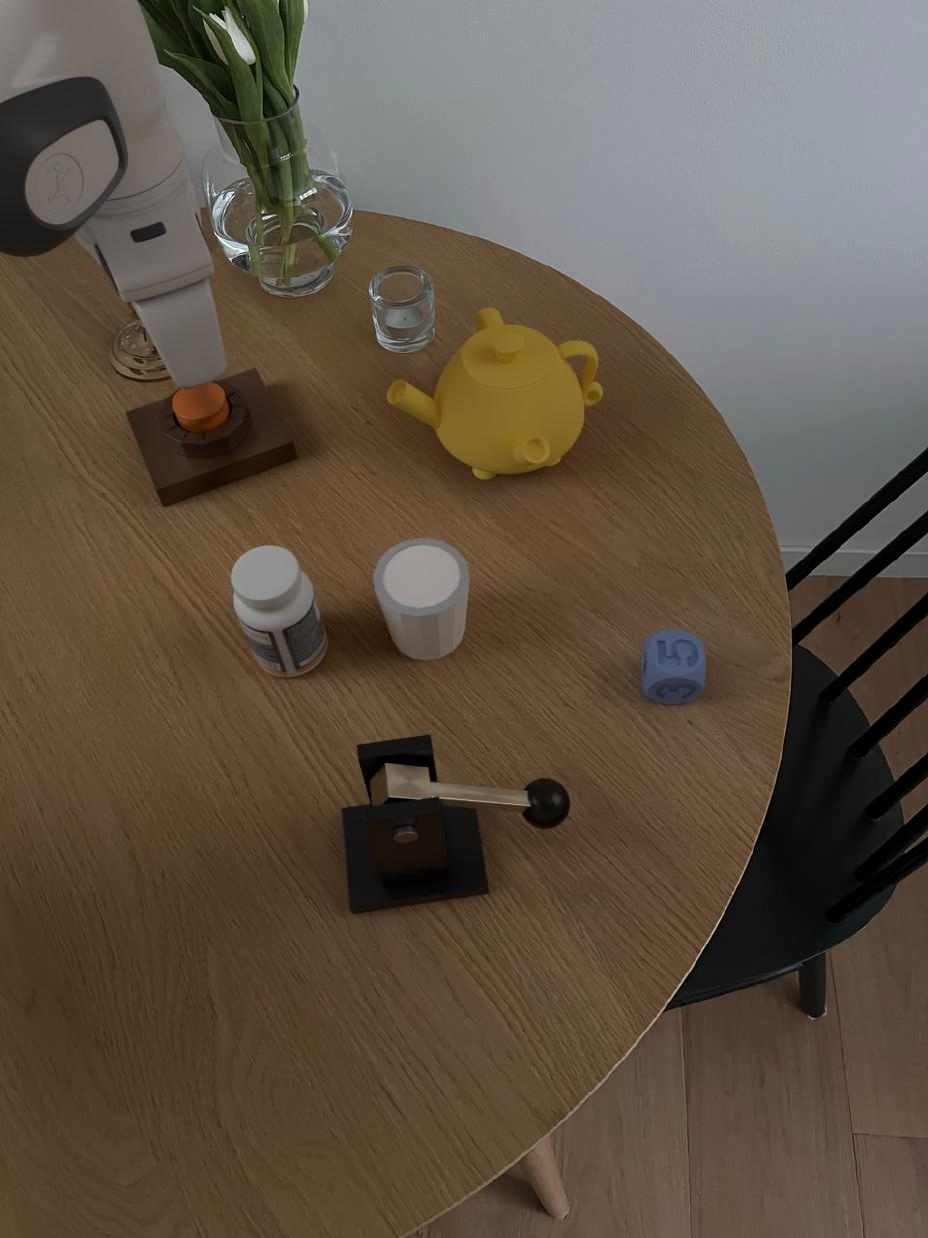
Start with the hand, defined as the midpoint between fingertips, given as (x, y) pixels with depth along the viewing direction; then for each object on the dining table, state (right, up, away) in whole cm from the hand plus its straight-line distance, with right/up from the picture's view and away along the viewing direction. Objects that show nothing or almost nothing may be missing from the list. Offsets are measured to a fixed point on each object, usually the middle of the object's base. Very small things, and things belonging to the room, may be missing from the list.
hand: (184, 352), depth 84 cm
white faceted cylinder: (+19, -22, -3) cm, 29 cm away
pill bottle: (+9, -23, -3) cm, 25 cm away
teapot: (+25, -7, +7) cm, 27 cm away
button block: (0, -6, +9) cm, 10 cm away
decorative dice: (+37, -26, -6) cm, 46 cm away
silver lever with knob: (+22, -33, -18) cm, 43 cm away
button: (0, -4, +6) cm, 7 cm away
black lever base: (+19, -37, -13) cm, 43 cm away
